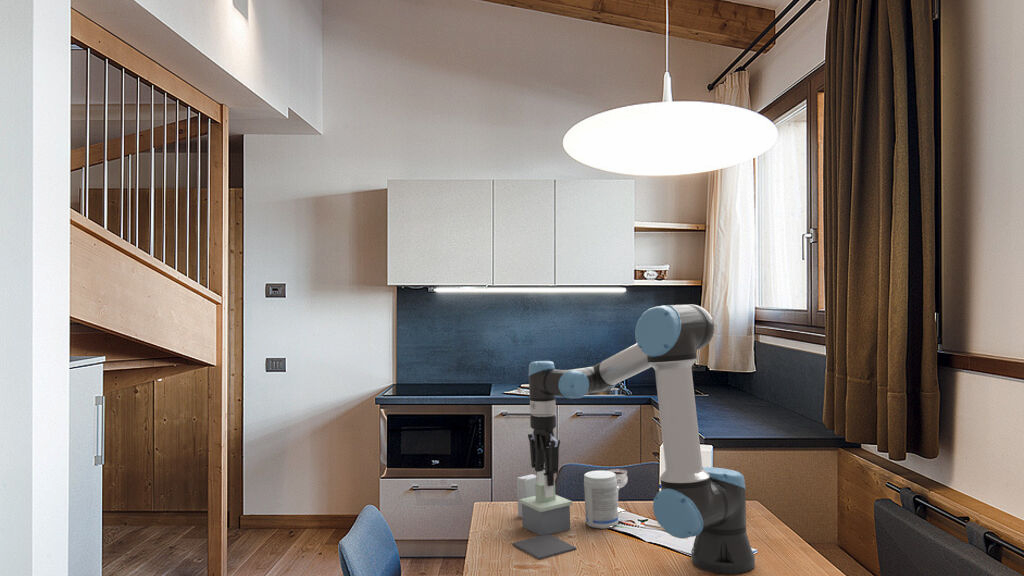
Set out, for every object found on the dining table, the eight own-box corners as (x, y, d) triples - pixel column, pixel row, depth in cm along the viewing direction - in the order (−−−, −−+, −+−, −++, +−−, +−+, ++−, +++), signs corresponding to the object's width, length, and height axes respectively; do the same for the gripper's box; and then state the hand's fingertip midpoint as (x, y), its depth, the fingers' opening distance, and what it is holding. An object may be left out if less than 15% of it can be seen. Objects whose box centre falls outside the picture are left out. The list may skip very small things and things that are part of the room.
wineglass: (623, 515, 210) (622, 475, 210) (603, 511, 214) (602, 473, 214) (631, 508, 216) (630, 470, 216) (611, 505, 219) (610, 468, 219)
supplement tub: (625, 523, 202) (623, 473, 202) (604, 532, 196) (603, 480, 196) (599, 516, 209) (597, 468, 209) (578, 524, 203) (577, 474, 203)
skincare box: (532, 512, 215) (531, 473, 216) (541, 515, 212) (540, 476, 212) (517, 516, 212) (515, 476, 212) (526, 520, 208) (524, 479, 208)
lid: (572, 507, 199) (571, 483, 199) (540, 514, 193) (540, 490, 193) (550, 498, 208) (549, 476, 208) (519, 505, 202) (519, 482, 202)
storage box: (570, 529, 199) (569, 504, 199) (541, 536, 194) (541, 511, 194) (550, 520, 207) (549, 496, 207) (522, 526, 202) (521, 502, 202)
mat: (576, 549, 183) (576, 547, 183) (539, 559, 177) (539, 557, 177) (548, 535, 194) (548, 533, 194) (512, 544, 188) (512, 542, 188)
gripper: (517, 412, 206) (519, 491, 205) (548, 419, 192) (550, 504, 192) (538, 409, 210) (540, 486, 209) (569, 416, 196) (572, 499, 196)
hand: (545, 494), depth 201 cm, fingers closed on lid, 3 cm apart
